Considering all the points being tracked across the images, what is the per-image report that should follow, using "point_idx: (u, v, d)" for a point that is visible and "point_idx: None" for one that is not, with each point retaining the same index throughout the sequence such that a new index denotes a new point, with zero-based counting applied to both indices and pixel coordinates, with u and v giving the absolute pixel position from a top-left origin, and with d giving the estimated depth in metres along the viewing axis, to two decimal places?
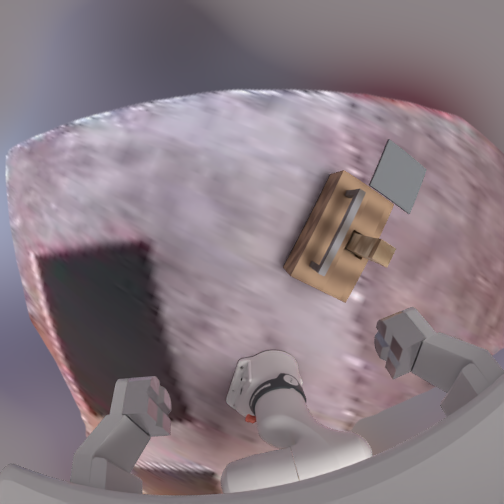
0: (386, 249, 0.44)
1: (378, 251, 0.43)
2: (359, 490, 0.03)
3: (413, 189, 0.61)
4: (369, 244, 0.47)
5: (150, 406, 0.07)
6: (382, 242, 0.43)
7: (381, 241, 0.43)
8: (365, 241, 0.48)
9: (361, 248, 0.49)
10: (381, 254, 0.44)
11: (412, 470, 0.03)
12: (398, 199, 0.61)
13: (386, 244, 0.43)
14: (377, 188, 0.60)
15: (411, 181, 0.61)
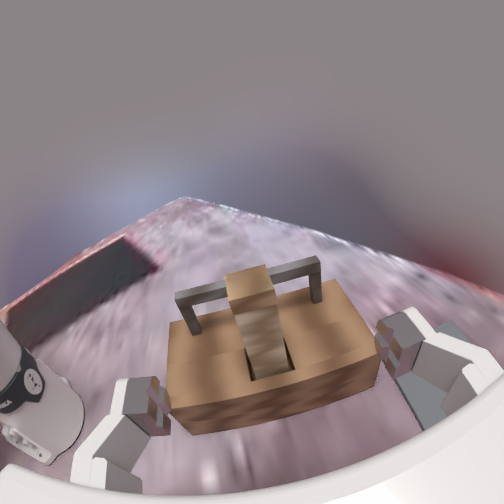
0: (257, 279, 0.23)
1: (243, 273, 0.24)
2: (359, 490, 0.03)
3: None
4: None
5: (150, 406, 0.07)
6: (261, 268, 0.24)
7: (261, 266, 0.24)
8: None
9: None
10: (242, 279, 0.23)
11: (412, 470, 0.03)
12: (418, 398, 0.25)
13: (264, 273, 0.23)
14: None
15: None
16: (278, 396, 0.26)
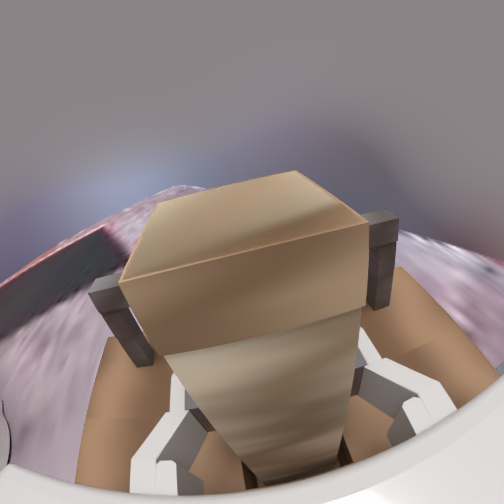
0: (274, 198, 0.05)
1: (219, 191, 0.06)
2: (359, 490, 0.03)
3: None
4: None
5: None
6: (286, 177, 0.07)
7: (286, 174, 0.07)
8: None
9: None
10: (211, 205, 0.06)
11: (412, 470, 0.03)
12: None
13: (302, 185, 0.06)
14: None
15: None
16: None
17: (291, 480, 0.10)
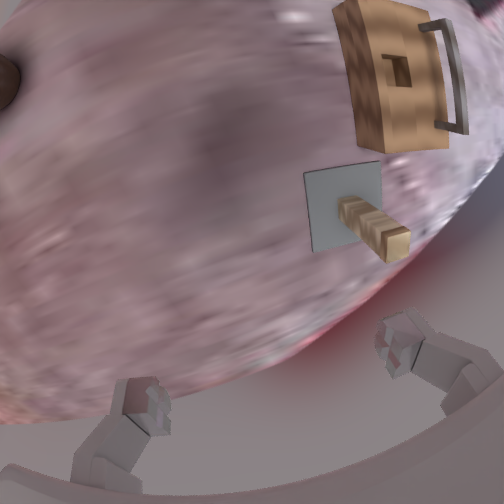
0: (397, 253, 0.31)
1: (407, 243, 0.31)
2: (359, 490, 0.03)
3: (319, 209, 0.43)
4: None
5: (150, 406, 0.07)
6: (405, 254, 0.31)
7: (407, 254, 0.31)
8: None
9: None
10: (401, 243, 0.30)
11: (412, 470, 0.03)
12: (335, 176, 0.41)
13: (400, 257, 0.31)
14: (370, 164, 0.41)
15: (328, 216, 0.44)
16: (367, 70, 0.28)
17: (341, 209, 0.42)
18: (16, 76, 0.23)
